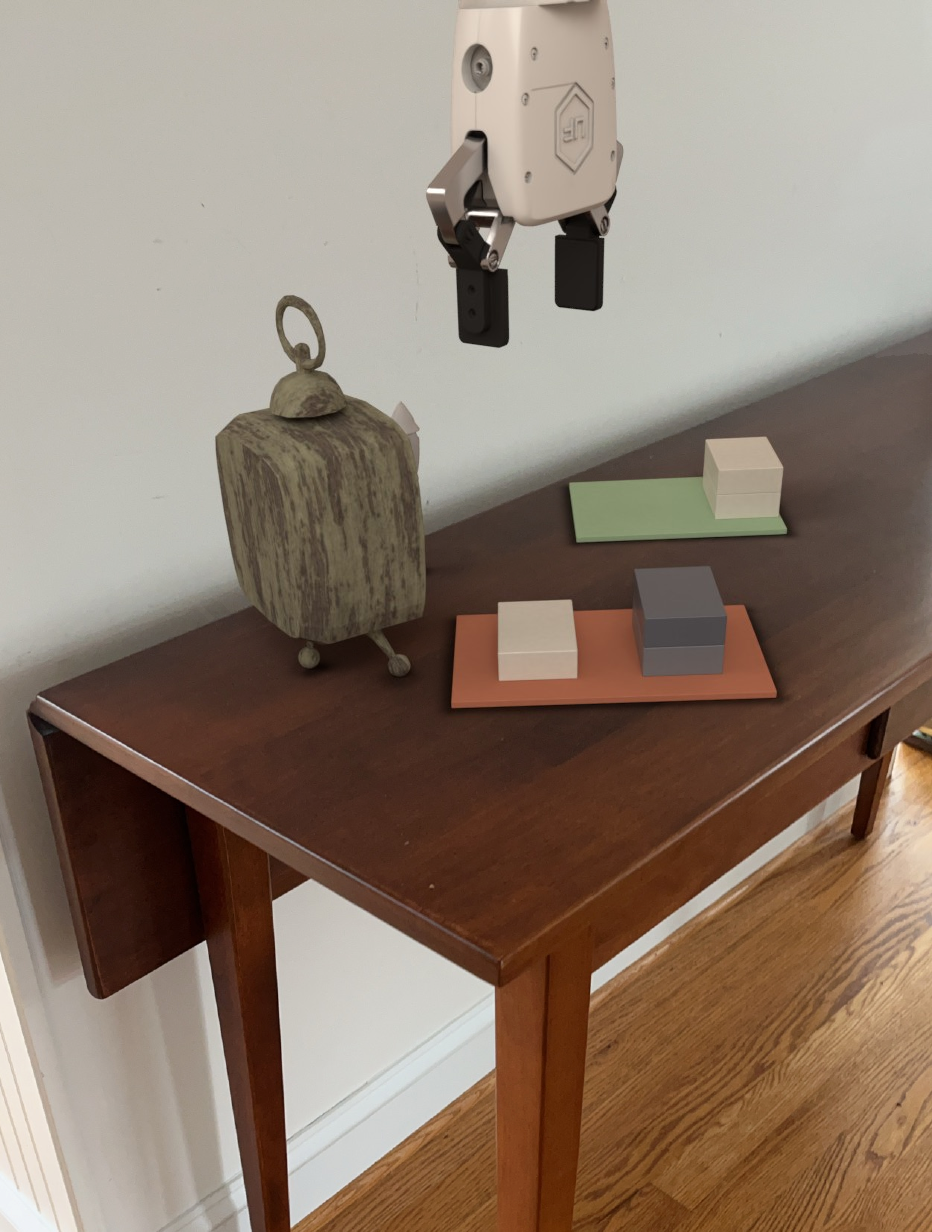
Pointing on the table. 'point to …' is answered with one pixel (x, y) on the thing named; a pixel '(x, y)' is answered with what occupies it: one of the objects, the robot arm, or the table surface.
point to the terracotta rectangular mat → (604, 666)
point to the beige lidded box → (742, 478)
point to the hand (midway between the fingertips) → (533, 325)
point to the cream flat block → (537, 640)
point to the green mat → (655, 512)
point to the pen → (408, 428)
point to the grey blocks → (678, 621)
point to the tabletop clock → (323, 509)
